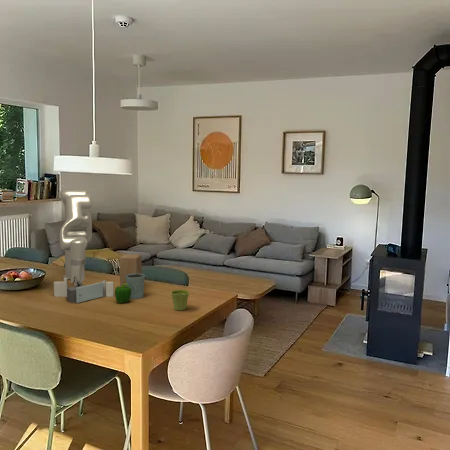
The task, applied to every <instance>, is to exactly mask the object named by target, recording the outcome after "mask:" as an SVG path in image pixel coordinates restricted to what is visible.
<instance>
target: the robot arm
mask: <svg viewBox="0 0 450 450" xmlns="http://www.w3.org/2000/svg"><path fill="white" fill-rule="evenodd" d="M59 198H60V200H61V202H62V203H63V207H64V223H63V224H62V226H61V228H60V230H59V246H60V249H61V250H62V251H64V268H65V274H64V275H62V278H63V279H64V278H68V280H70V284H72V285H74V286H73V287H77V286H82V285H83V282H84V281H85V279H86V278H85V275H86V274H85V272H86V271H85V265H86V248H87V246H88V243H90V242H91V241H92V237H93V235H92V234H93V225H92V223H93V222H92V221H93V220H92V215H91V213H90V212H88V211H83V210H90V209H92V207H93V196H92V194H91V191H90V190H89V189H88V188H64V189H61V190H60V191H59Z"/></svg>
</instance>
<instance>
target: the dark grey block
mask: <svg viewBox="0 0 450 450" xmlns="http://www.w3.org/2000/svg"><path fill="white" fill-rule="evenodd" d="M82 286H87V285H86V284H84V285H83V284H82ZM82 286H77V287H75V286H68V288H67V297H66V299H67V301H68V302H69V303H71V304H72V303H76V288H78V287H82Z"/></svg>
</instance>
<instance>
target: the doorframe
mask: <svg viewBox="0 0 450 450" xmlns="http://www.w3.org/2000/svg"><path fill="white" fill-rule="evenodd" d="M68 280H69V279H68V278H63V281H53V295H54V297H60V298H61V297H62V298H63V297H64V298H67V288H68V287H69V284H68V283H69V282H68ZM102 282H103V297H104V298H106V297H107V298H111V297H112V298H114V297H115V288H114V287H115V286H114V283H115V282H114V281H106V279H103V280H102Z"/></svg>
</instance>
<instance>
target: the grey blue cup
mask: <svg viewBox="0 0 450 450" xmlns="http://www.w3.org/2000/svg"><path fill="white" fill-rule="evenodd" d="M145 277H146V275H145V274H144V273H142V274H128V275H126V282H127V287H130V288H131V296H130V300H139V299H143V298H144V293H145V292H144V289H145Z"/></svg>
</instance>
